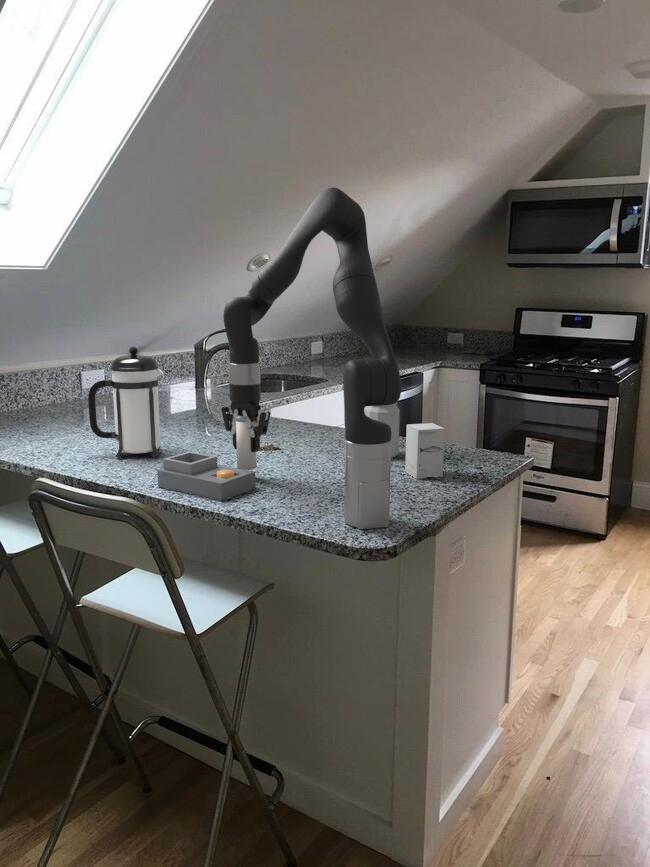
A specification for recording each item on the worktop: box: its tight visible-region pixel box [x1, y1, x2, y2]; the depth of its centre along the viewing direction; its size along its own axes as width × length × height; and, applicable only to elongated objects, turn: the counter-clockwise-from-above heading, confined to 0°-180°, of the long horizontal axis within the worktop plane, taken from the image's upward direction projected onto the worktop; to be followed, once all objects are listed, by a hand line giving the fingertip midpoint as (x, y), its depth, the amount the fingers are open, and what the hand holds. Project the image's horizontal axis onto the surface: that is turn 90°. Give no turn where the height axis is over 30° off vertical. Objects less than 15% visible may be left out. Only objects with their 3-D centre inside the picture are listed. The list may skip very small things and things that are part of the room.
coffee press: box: [87, 346, 165, 460], centre depth 202 cm, size 17×16×30 cm
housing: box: [156, 451, 257, 502], centre depth 174 cm, size 20×12×6 cm, turn 56°
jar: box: [364, 402, 401, 459], centre depth 203 cm, size 10×10×18 cm
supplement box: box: [404, 422, 445, 480], centre depth 184 cm, size 7×7×13 cm
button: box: [217, 470, 234, 479], centre depth 171 cm, size 4×4×4 cm
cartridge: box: [236, 416, 258, 471], centre depth 180 cm, size 5×5×13 cm
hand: (246, 449), depth 181 cm, fingers closed on cartridge, 4 cm apart
